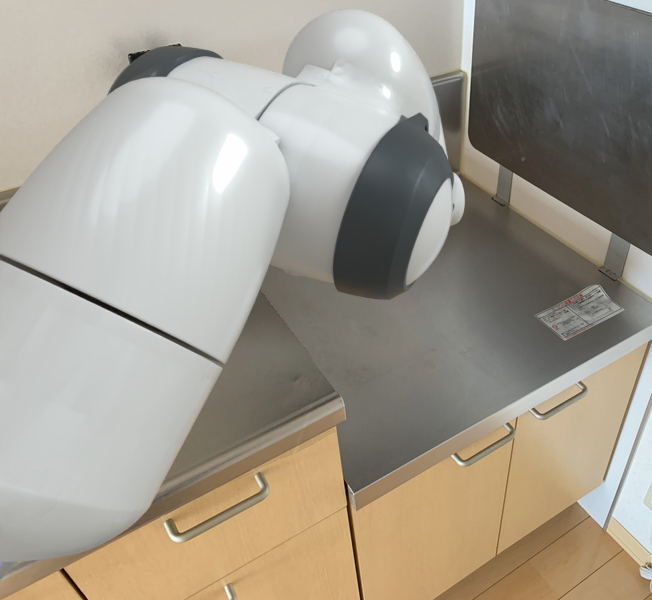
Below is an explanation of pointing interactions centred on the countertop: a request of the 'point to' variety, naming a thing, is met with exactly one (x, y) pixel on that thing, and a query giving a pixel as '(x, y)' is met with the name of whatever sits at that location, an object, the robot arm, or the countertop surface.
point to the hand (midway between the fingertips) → (240, 226)
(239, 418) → the countertop surface
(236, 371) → the countertop surface
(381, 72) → the robot arm
